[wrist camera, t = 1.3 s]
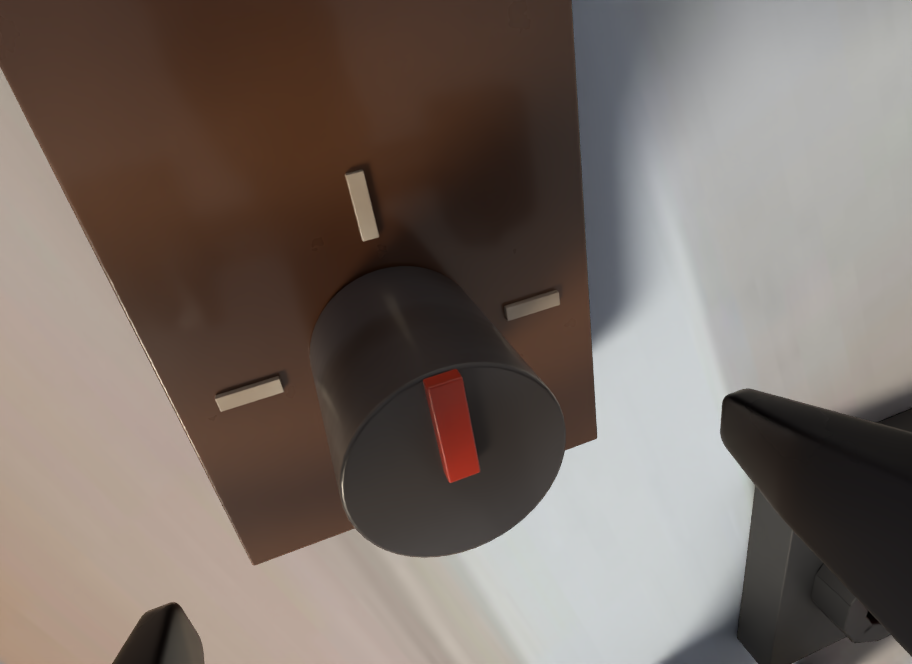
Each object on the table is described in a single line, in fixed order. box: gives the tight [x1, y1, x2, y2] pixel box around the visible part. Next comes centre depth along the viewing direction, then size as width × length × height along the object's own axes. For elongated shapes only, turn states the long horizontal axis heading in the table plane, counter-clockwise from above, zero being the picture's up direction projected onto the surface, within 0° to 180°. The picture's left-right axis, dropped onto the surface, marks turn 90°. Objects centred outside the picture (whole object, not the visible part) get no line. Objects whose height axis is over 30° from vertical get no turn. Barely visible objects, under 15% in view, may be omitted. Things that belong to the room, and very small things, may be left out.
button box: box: [737, 409, 912, 664], centre depth 28 cm, size 12×10×4 cm
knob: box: [310, 266, 566, 557], centre depth 12 cm, size 4×4×5 cm
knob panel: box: [0, 0, 597, 565], centre depth 14 cm, size 14×10×3 cm
